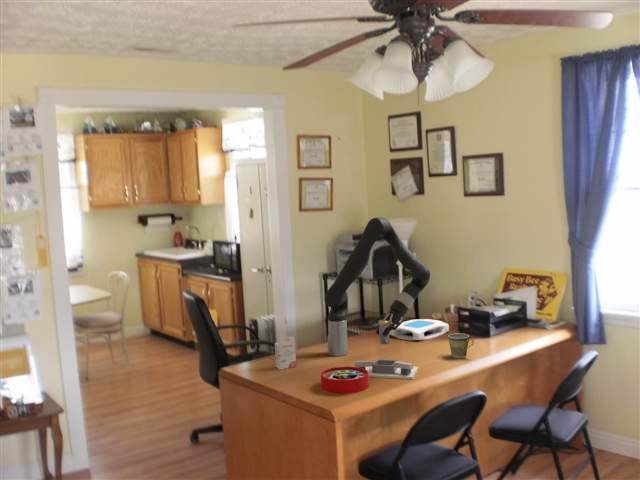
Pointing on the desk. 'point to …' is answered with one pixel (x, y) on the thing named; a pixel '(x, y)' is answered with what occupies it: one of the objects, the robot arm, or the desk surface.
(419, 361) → the desk surface
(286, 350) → the ink cartridge box
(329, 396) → the desk surface
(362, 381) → the toy clock
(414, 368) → the shaft rig
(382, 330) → the gold lidded jar
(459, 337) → the ceramic cup
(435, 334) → the white blue plastic platform
